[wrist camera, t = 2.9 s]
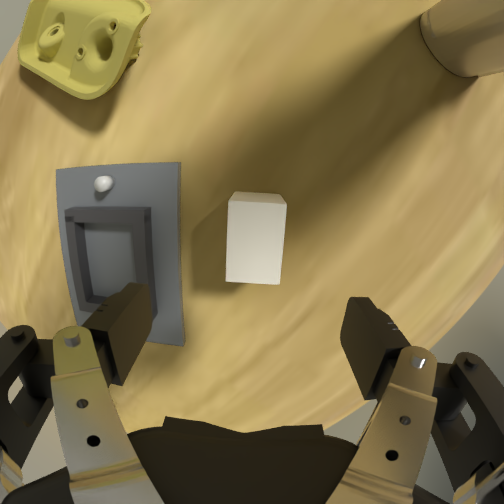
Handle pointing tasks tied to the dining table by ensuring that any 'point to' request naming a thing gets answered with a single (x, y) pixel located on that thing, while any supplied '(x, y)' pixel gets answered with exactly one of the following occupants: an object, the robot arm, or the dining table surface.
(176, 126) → the dining table surface
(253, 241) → the block
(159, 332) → the housing plate
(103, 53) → the plastic component
